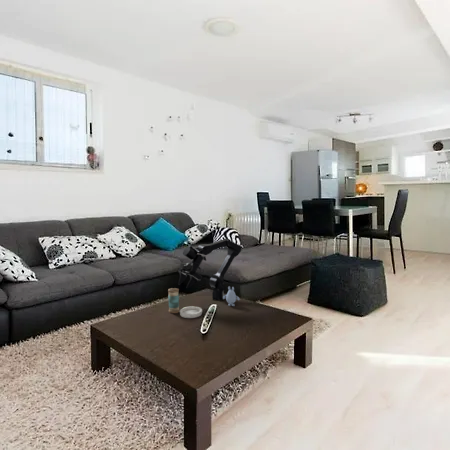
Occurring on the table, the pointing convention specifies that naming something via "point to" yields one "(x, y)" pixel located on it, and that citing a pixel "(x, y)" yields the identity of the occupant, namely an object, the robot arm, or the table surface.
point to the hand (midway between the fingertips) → (182, 286)
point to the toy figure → (231, 297)
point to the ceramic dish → (190, 312)
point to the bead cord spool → (173, 300)
